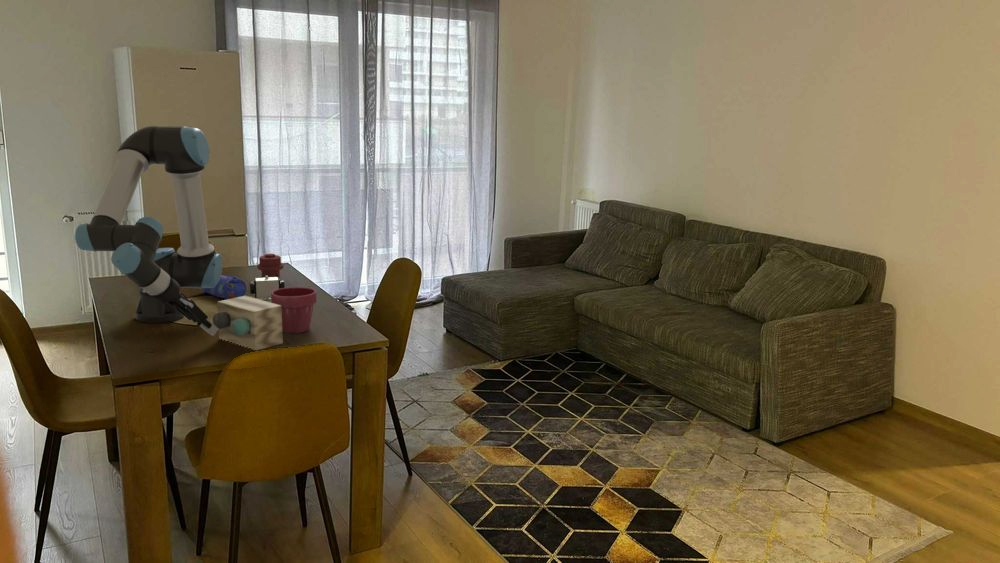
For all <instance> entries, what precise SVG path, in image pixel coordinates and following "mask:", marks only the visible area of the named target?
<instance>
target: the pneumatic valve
mask: <svg viewBox="0 0 1000 563" xmlns="http://www.w3.org/2000/svg"><path fill="white" fill-rule="evenodd" d="M281 288H286V287H285V280H281V277H280V278H279V277H268V276H265V278H262V277H254V278H253V280H252V281H250V282H249V294H250V295H253V296H254V298H255V299H261V300H263V301H267V302H270V303H271V293H272V291H274V290H277V289H281Z"/></svg>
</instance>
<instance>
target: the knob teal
mask: <svg viewBox="0 0 1000 563" xmlns="http://www.w3.org/2000/svg"><path fill="white" fill-rule="evenodd" d="M232 330H233V332H234V334H235V335H237V336H240V335H244V334H248V333H249V332H250V321H248V320H247V319H246V318H242V319H237V320H234V321H233V322H232Z"/></svg>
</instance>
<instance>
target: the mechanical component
mask: <svg viewBox="0 0 1000 563" xmlns="http://www.w3.org/2000/svg"><path fill="white" fill-rule="evenodd" d="M258 262H259V263H258V264H257V270H258V271H260V272H261V278H265V276H268V277H279V278H280V279H281V275H280V274H281V273H280V271H281V270H283V269H284V264H283V263H282V257H281V255H276V254H275V253H265V254H264V255H261V256H259V258H258Z"/></svg>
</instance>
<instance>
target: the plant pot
mask: <svg viewBox="0 0 1000 563" xmlns="http://www.w3.org/2000/svg"><path fill="white" fill-rule="evenodd" d="M271 303H274V304H278V305H281V308H282V333H287V334H298V333H299V334H300V333H304V332H308V331H309V330H310V327H311V322H312V317H313V311H314V306H315V304H316V303H317V290H316V289H314V288H311V287H301V286H295V287H294V286H293V287H291V286H290V287H289V286H288V287H285V288H281V289H277V290H274V291H272V293H271Z"/></svg>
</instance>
